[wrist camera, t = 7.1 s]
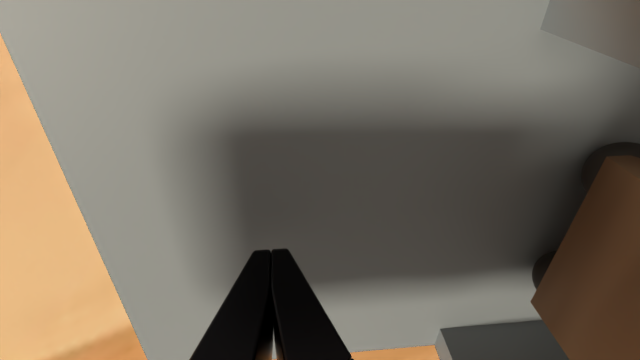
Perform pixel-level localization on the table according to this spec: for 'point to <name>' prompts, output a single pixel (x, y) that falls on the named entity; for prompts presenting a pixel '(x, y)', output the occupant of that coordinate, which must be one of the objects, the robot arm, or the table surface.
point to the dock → (332, 152)
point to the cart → (597, 263)
